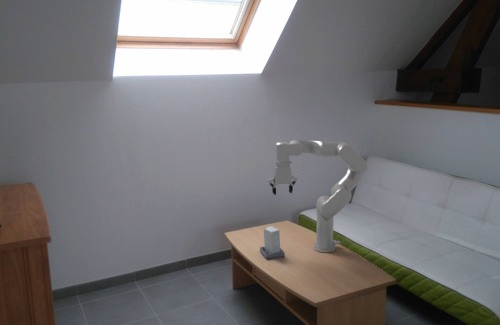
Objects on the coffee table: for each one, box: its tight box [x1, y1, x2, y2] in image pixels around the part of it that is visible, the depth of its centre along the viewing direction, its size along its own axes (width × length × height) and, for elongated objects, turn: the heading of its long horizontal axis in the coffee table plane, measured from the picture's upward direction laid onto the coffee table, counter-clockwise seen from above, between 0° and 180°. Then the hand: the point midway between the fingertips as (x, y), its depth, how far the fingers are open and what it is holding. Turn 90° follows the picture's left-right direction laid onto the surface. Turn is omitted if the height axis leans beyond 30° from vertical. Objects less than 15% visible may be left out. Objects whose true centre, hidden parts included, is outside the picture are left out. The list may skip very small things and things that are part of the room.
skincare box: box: [263, 226, 281, 254], centre depth 239 cm, size 8×6×15 cm
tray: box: [259, 246, 285, 260], centre depth 241 cm, size 11×11×3 cm
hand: (282, 193), depth 240 cm, fingers open, 9 cm apart
